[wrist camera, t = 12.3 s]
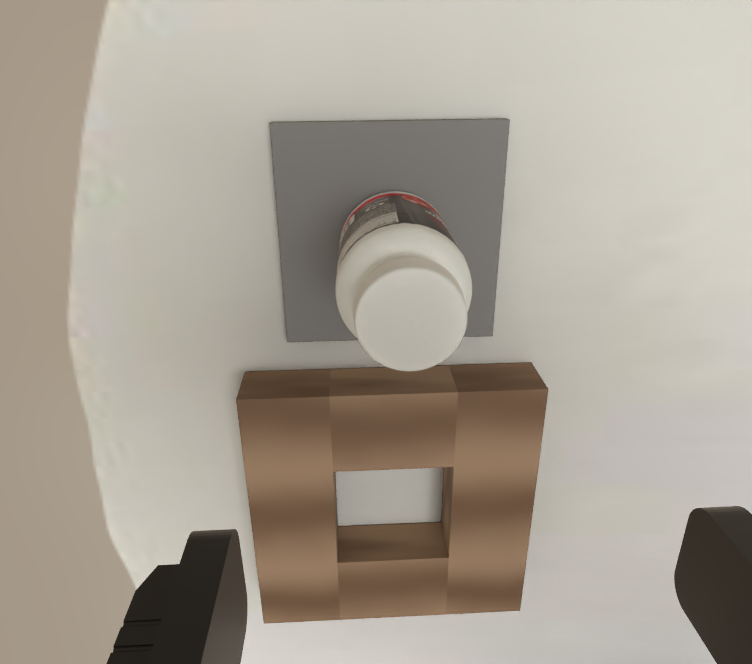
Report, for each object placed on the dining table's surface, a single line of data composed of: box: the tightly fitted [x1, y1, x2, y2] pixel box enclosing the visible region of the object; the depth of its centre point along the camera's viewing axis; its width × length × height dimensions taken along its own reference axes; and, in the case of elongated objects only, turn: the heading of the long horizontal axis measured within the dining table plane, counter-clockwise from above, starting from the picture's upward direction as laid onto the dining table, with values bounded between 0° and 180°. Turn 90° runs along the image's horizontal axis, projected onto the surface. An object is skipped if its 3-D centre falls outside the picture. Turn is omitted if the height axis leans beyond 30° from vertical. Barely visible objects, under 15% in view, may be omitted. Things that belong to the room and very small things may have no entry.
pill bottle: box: [335, 191, 472, 371], centre depth 25 cm, size 5×5×10 cm
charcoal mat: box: [270, 119, 510, 342], centre depth 29 cm, size 11×11×1 cm
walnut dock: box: [236, 363, 548, 623], centre depth 35 cm, size 16×16×3 cm
